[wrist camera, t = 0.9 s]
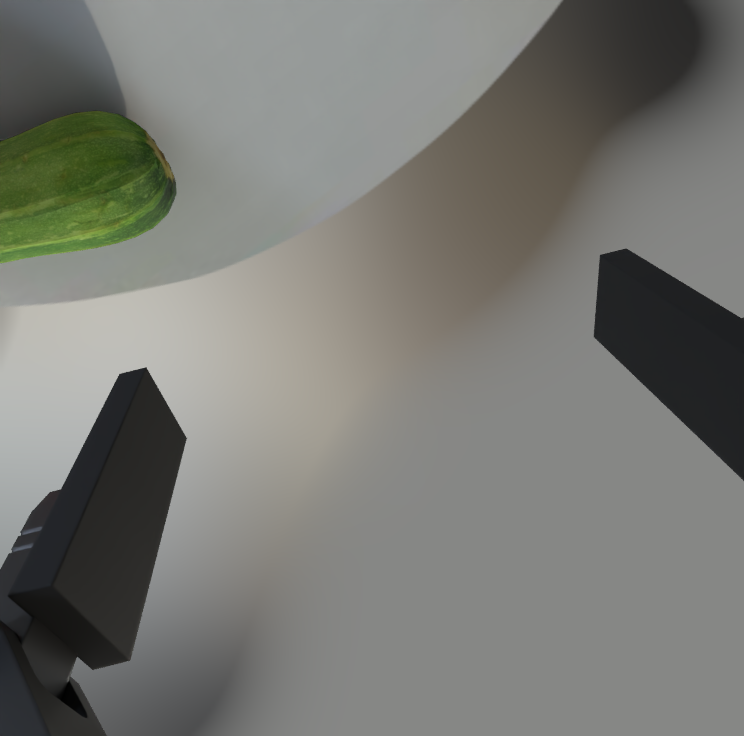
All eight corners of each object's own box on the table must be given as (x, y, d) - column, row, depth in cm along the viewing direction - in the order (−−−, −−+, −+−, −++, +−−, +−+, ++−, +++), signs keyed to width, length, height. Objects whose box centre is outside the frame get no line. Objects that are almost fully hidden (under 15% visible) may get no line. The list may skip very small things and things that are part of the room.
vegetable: (176, 226, 28) (-176, 320, 27) (200, 221, 35) (-81, 297, 34) (122, 85, 26) (-267, 183, 25) (160, 110, 32) (-144, 188, 31)
